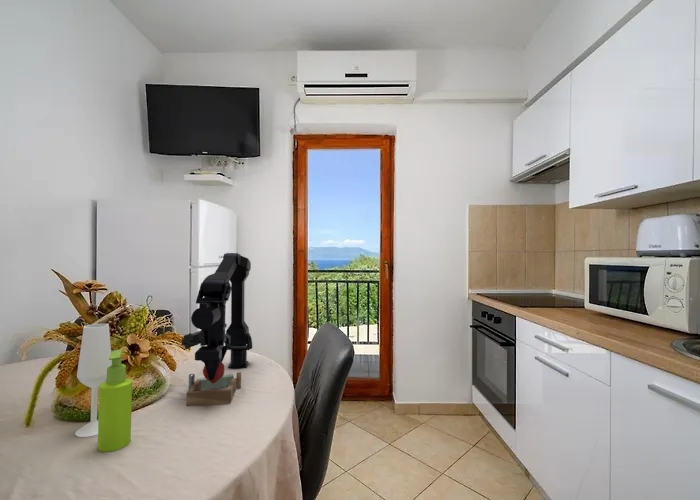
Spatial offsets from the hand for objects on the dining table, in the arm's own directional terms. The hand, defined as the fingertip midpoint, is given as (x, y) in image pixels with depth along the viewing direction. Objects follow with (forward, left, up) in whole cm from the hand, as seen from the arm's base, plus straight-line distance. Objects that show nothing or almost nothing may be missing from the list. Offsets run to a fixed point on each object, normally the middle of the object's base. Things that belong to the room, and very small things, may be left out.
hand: (213, 375), depth 100 cm
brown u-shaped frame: (0, 0, -6) cm, 6 cm away
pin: (-6, -8, -6) cm, 11 cm away
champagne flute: (+16, -23, -6) cm, 29 cm away
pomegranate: (0, 0, -2) cm, 2 cm away
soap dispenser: (+24, -15, -6) cm, 29 cm away
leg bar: (-7, -1, -6) cm, 9 cm away
